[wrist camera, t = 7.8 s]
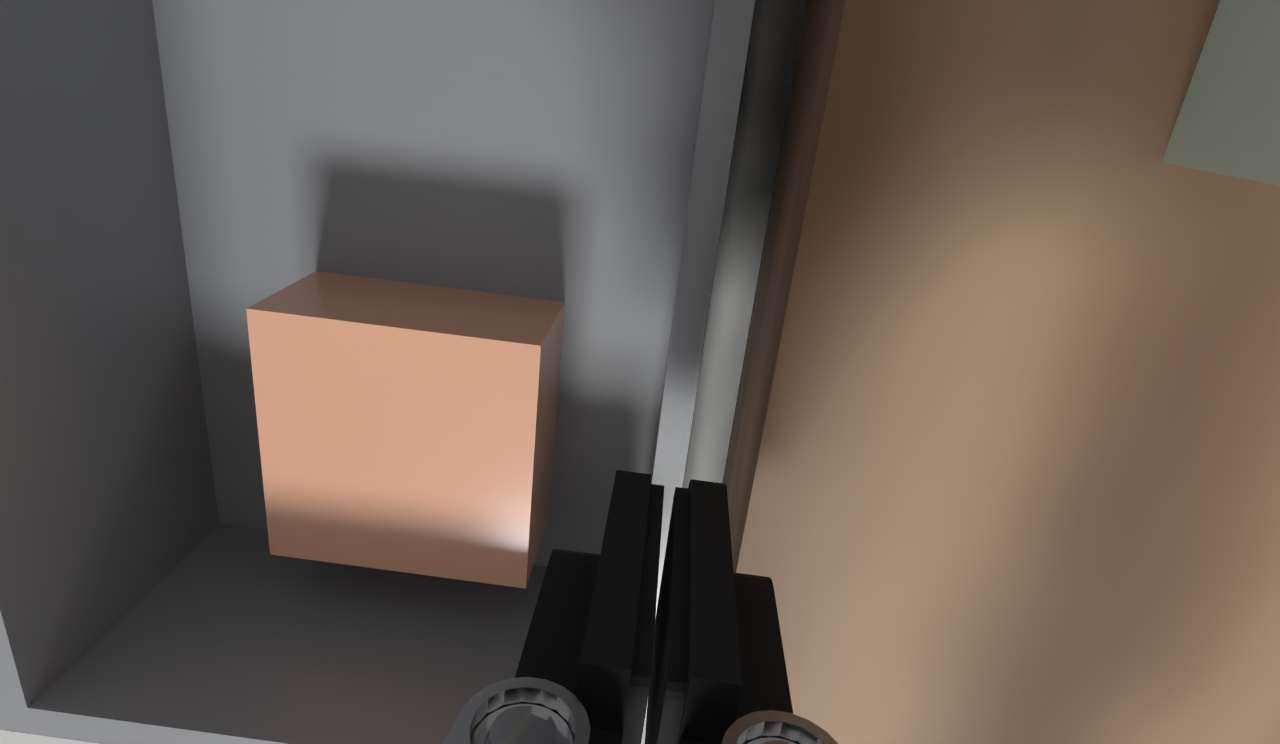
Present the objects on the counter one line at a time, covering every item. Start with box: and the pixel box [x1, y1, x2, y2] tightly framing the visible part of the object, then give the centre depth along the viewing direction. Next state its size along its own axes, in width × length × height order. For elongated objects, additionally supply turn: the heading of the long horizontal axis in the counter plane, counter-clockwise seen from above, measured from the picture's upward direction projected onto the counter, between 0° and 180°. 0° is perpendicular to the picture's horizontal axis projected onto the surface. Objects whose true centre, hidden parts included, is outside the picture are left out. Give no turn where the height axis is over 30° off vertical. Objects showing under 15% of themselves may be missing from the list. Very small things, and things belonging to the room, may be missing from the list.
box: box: [0, 0, 755, 744], centre depth 12 cm, size 11×18×6 cm, turn 174°
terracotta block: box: [246, 271, 565, 588], centre depth 15 cm, size 5×5×2 cm
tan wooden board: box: [723, 0, 1280, 744], centre depth 12 cm, size 12×18×4 cm, turn 174°
